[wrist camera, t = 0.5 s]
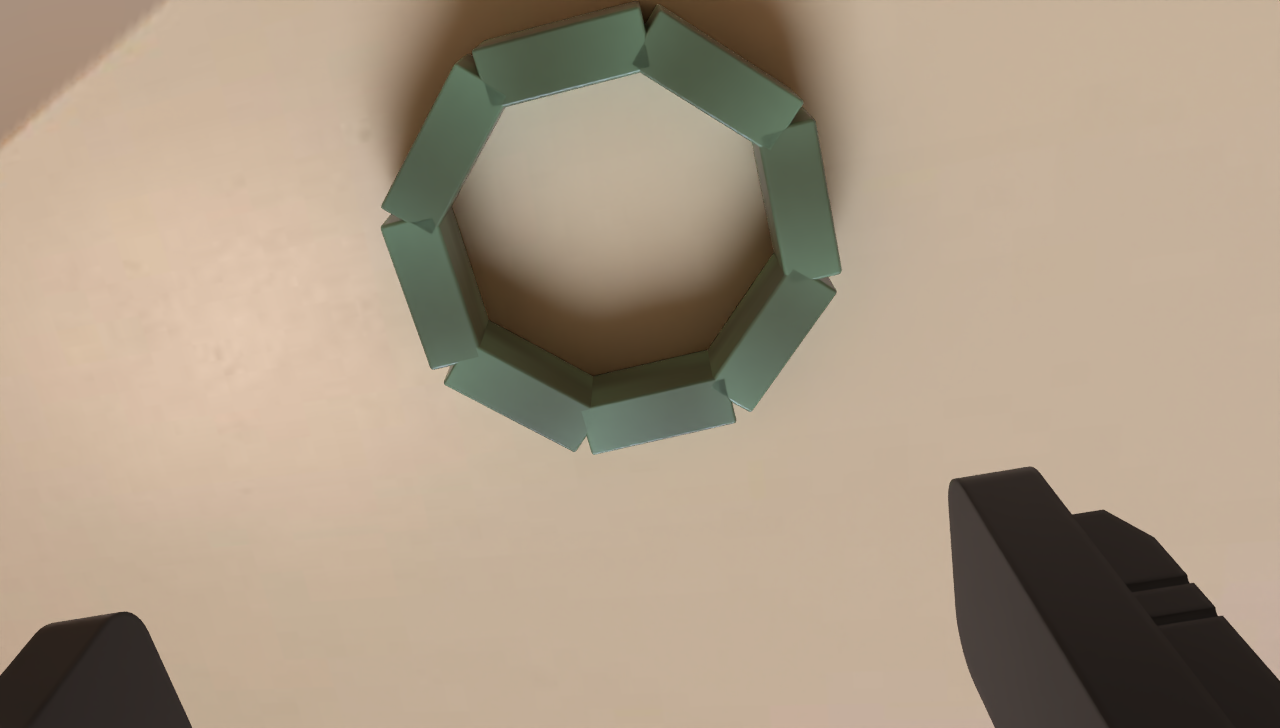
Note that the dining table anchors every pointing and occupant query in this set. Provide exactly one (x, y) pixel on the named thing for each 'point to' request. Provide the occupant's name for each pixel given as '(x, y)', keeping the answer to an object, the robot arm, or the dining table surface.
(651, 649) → the dining table surface
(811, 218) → the ring
